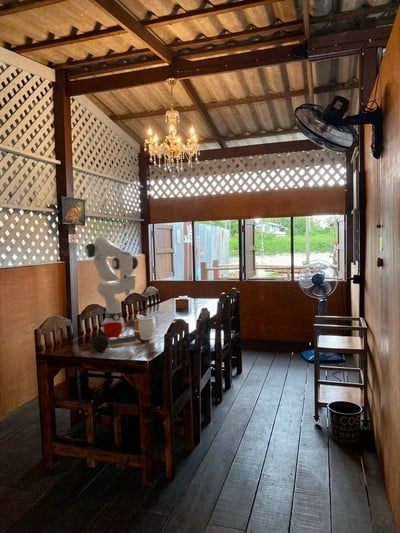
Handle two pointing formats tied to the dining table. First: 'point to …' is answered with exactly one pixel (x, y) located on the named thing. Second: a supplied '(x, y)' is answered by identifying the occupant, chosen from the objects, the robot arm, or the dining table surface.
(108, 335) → the ceramic cup
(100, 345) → the speaker
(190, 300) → the dining table surface
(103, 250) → the robot arm
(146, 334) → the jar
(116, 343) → the button board
